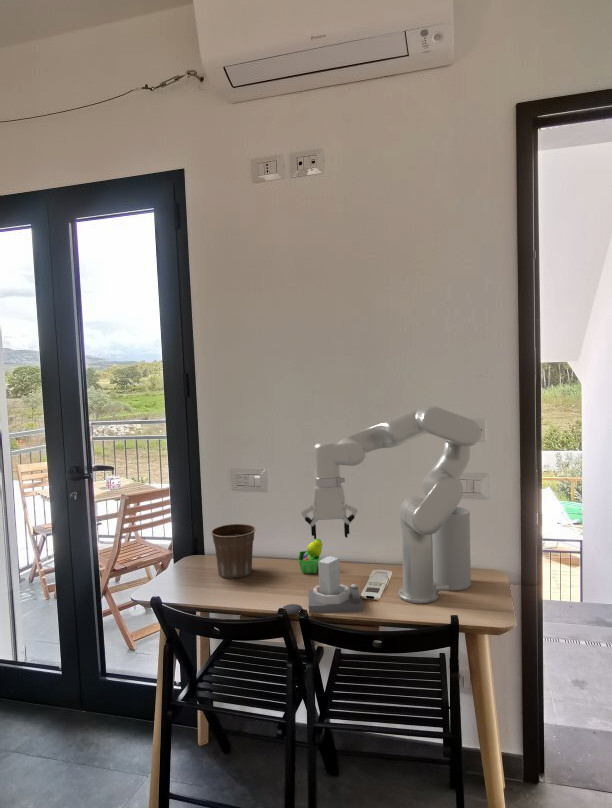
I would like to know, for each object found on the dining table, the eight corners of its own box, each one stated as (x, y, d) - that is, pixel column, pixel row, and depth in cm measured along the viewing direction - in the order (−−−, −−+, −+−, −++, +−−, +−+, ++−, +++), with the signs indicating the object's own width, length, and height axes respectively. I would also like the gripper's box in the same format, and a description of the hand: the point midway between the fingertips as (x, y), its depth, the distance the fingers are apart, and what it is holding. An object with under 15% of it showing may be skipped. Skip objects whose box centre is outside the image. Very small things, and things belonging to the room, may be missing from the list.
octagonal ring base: (358, 595, 174) (357, 581, 174) (362, 611, 162) (361, 596, 162) (308, 596, 174) (308, 582, 174) (308, 612, 162) (308, 597, 162)
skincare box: (329, 592, 171) (328, 555, 171) (340, 595, 169) (339, 557, 168) (318, 599, 166) (317, 561, 166) (330, 602, 164) (329, 563, 164)
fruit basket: (299, 564, 206) (299, 534, 205) (323, 563, 205) (322, 534, 205) (298, 574, 194) (297, 543, 194) (322, 574, 194) (321, 543, 193)
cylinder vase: (456, 575, 189) (455, 504, 188) (478, 588, 177) (477, 512, 176) (425, 580, 185) (423, 508, 184) (445, 593, 173) (444, 516, 172)
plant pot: (241, 583, 187) (240, 537, 186) (203, 577, 194) (201, 533, 193) (265, 568, 202) (263, 526, 201) (228, 563, 209) (227, 522, 208)
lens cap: (302, 606, 167) (301, 603, 167) (302, 615, 161) (302, 611, 161) (282, 607, 167) (282, 604, 167) (282, 616, 161) (282, 612, 161)
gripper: (354, 478, 170) (357, 532, 171) (300, 481, 170) (302, 535, 171) (357, 483, 163) (359, 539, 163) (299, 486, 163) (302, 542, 163)
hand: (330, 537), depth 167 cm, fingers open, 9 cm apart
